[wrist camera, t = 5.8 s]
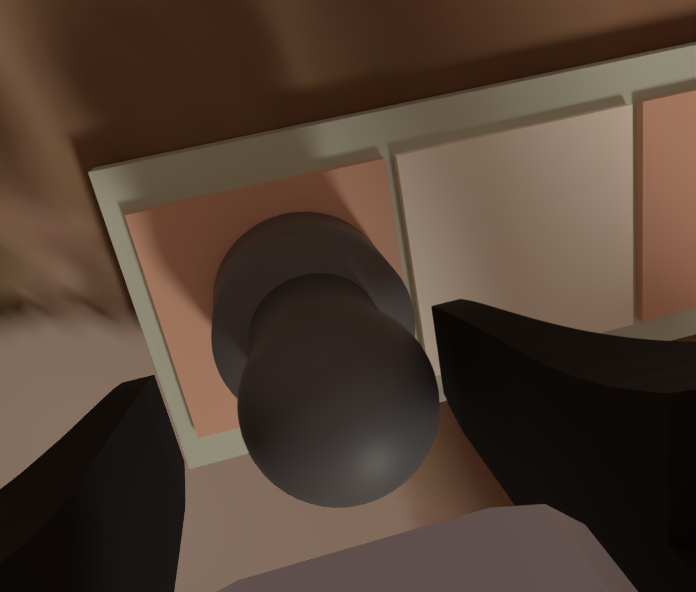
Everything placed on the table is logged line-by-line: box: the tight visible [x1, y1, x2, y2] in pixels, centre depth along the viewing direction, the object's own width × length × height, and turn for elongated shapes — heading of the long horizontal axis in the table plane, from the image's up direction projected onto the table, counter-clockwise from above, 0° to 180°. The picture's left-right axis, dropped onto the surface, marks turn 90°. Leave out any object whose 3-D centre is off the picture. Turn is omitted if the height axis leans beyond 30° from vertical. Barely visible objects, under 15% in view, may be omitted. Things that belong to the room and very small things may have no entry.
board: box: [88, 42, 696, 469], centre depth 18 cm, size 9×28×1 cm, turn 100°
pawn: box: [211, 212, 439, 508], centre depth 13 cm, size 5×5×7 cm
